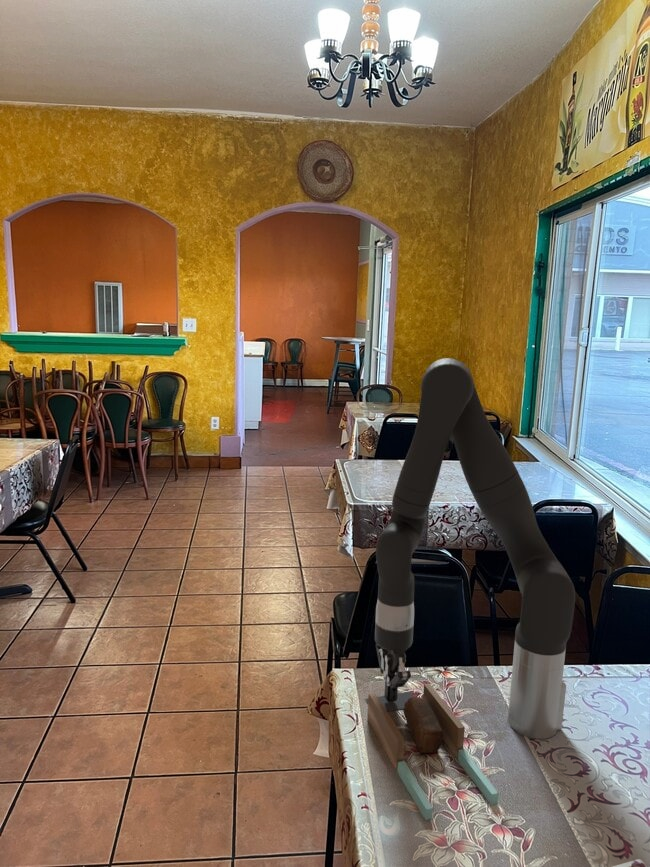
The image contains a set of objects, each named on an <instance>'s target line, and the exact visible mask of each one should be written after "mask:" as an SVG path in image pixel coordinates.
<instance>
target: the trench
mask: <svg viewBox="0 0 650 867" xmlns="http://www.w3.org/2000/svg"><path fill="white" fill-rule="evenodd" d="M422 693H423V695H422V699H424V700H426V701H427V702H428V703H429V705H430V707H431V709H432V711H433V713H434V715H435V717H436V719H437V721H438V723H439V725H440V727H441V729H442V732H443V738H442V741H443V742H444V743H445V745H446V746H447V748H448V749H449V750H450V751H451V752H452V754H453V755H454V756H455V758H456V759H458V751H459V750H461V749H464V743H465V742H464V741H465V729H466V728H465V725H464V724H463V723H462V722H461V721H460V719H459V718H458V717H457V716H456V714H455V713H454V712H453V711H452V710H451V708H450V707H449V706H448V704H447V703H446V702H445V700H444V699H443V698H442V697H441V696H440V695H439V693H438V692H437V691H436V689H435V688H433V686H432V684H431V683H424V684H423V692H422ZM378 697H379V696H378V695H377V694H376V692H368V703H367V717H366V718H367V722H368V724H369V726H370V728H371V729H372V731H373V733H374V734H375V737H376V738H377V740H378V741H379V743H380V745H381V747H382V748H383V750H384V752H385V753H386V755H387V757H388V758H389V761H390V762H391V764H392V765H393V767H394V768H395V771H397V770H398V762H401V761H404V752H405V750H404V749H405V737H404V736H403V734H402V733H401V731H400V729H399V728H398V726H397V725H396V723H395V722H394V721H393V719H392V717H391V715H390V714H389V712H387V711H386V709H385V708H384V706H383V705H382V703H381V702H380V700H379V699H378Z"/></svg>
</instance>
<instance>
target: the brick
mask: <svg viewBox="0 0 650 867" xmlns="http://www.w3.org/2000/svg"><path fill="white" fill-rule="evenodd" d="M403 715H404V718H405V721H406V723H407V726H408V728H409V731H410V733H411V735H412V737H413V740H414V742H415V745H416V746H417V747H416V748H417V749H418V752H419V753H420V754H434V753H435V754H436V753H438V752H439V749H440V748H441V747H442V742H443V739H442V738H443V732H442V729H441V727H440V725H439V723H438V721H437V719H436V717H435V715H434V713H433V711H432V709H431V707H430V705H429V703H428V702H427V701H426V700H424V699H423V697H419V696H413V698H409V699H408V701H407V702H406V703H405V708H404V709H403Z"/></svg>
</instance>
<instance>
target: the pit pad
mask: <svg viewBox="0 0 650 867" xmlns="http://www.w3.org/2000/svg"><path fill="white" fill-rule="evenodd" d="M384 696H385V695H380V696H377V697H378V699H379V700H380V702H381V703H382V705H383V706H384V708H385V709H386V711H387V713H390V712H396V711H402V710H404V708H405V703H406V702H407V701H408V699H409V698H413V697H414V695H413V694H412V692H411V691H405V692H399V693H398V694H397V700H396V701H393V702H388V701H387V700H386V698H385V697H384ZM364 701H365V702H366V703H367V704H368V698H365V699H364Z"/></svg>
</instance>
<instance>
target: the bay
mask: <svg viewBox="0 0 650 867" xmlns="http://www.w3.org/2000/svg"><path fill="white" fill-rule="evenodd" d="M457 761H458V762H459V764H460V765H461V767H462V768H463V769H464V771H465V772H466V773H467V775H468V776H469V777H470V779H471V780H472V781H473V783H474V784H475V785H476V787H477V788H478V790H479V791H480V792H481V794H482V795H483V796H484V798H485V799H486V800H487V802H488V804H490V805H491V806H494V805H498V804H499V792H498V791H497V789H496V788H495V787H494V785H493V783H492V782H491V781H490V780H489V778H488V777H487V776H486V775H485V773H484V771H483V770H482V769H481V768H480V767H479V766H478V764H477V763H476V762H475V760H474V759H473V758H472V757H471V755H470V754H469V752H468V751H467V750H466V749H465V748H463V749H461V750H459V751H458V758H457ZM396 772H397V774H398V776H399V777H400V780H401V781H402V783H403V785H404V787H405V788H406V790H407V791H408V793H409V795H410V796H411V797H412V800H413V802H414V803H415V805H416V807H417V808H418V810H419V812H420V813H421V815H422V817H423V818H424V820H425V821H428V820H433V818H434V806H433V805H432V804H431V801H430V800H429V799H428V797H427V795H426V794H425V792H424V790H423V789H422V788H421V786H420V784H419V782H418V781H417V779H416V777H415V776H414V774H413V773H412V771H411V770H410V768H409V766H408V765H407V763H406V761H405V760H403V761H401V762H398V770H396Z"/></svg>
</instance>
